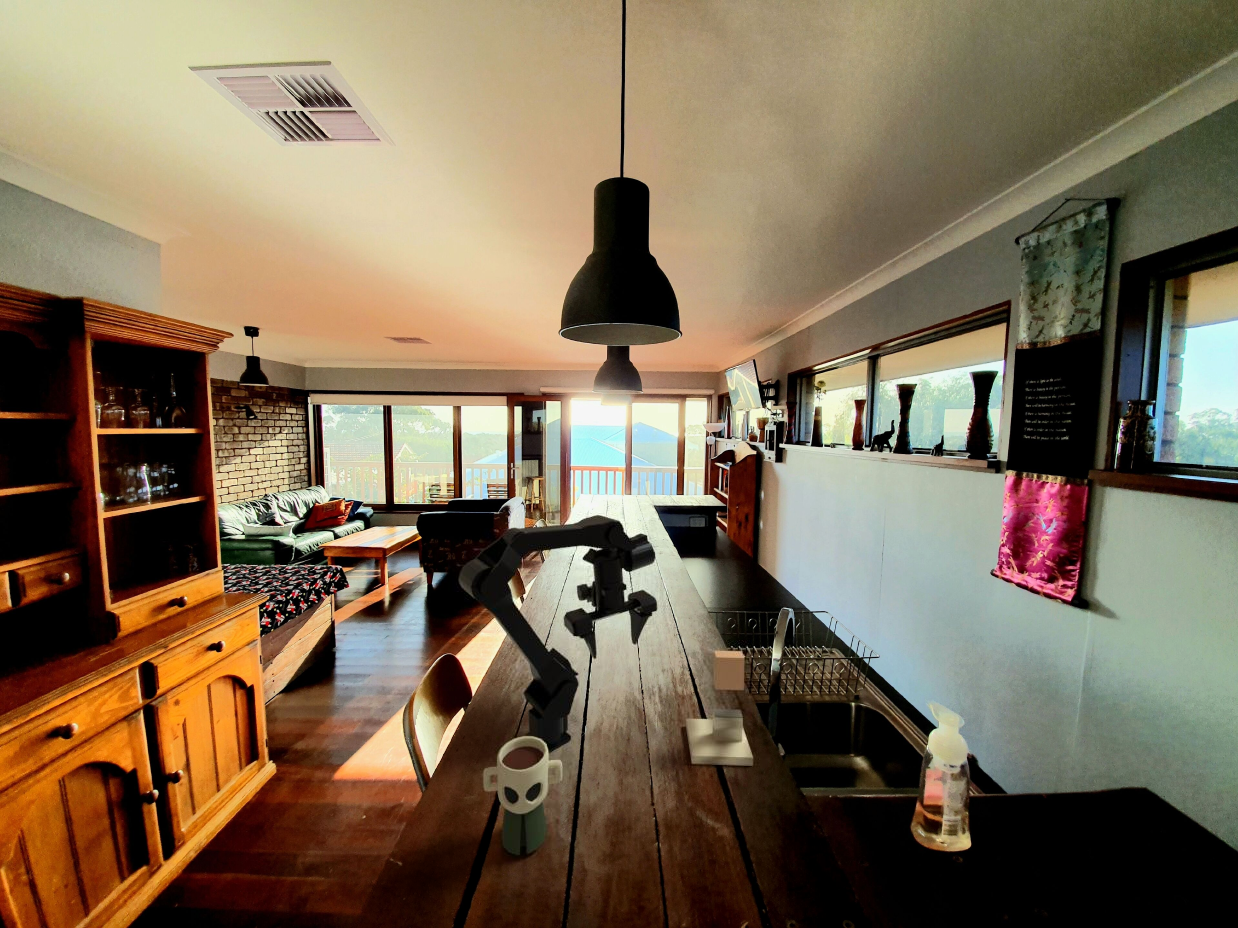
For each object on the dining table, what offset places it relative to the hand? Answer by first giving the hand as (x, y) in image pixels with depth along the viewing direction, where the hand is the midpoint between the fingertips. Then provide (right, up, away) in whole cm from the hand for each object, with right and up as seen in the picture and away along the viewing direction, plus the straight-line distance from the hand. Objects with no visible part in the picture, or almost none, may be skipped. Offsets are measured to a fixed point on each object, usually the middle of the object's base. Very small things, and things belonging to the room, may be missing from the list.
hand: (614, 650), depth 94 cm
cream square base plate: (+19, -13, -9) cm, 25 cm away
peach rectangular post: (+21, -2, -11) cm, 23 cm away
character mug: (-13, -15, -28) cm, 35 cm away
